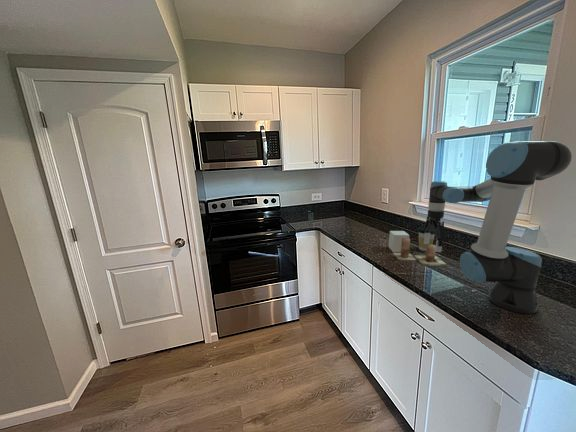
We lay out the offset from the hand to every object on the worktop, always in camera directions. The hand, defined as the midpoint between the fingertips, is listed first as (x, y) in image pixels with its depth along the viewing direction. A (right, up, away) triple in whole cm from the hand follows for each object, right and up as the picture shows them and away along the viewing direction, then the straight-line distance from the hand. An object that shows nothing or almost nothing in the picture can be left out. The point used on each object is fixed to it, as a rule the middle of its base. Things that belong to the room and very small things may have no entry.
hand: (432, 247), depth 138 cm
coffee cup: (+7, -5, +21) cm, 23 cm away
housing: (-10, -5, +21) cm, 24 cm away
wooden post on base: (-11, -8, +10) cm, 17 cm away
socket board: (0, -10, +3) cm, 10 cm away
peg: (0, -10, +3) cm, 10 cm away
